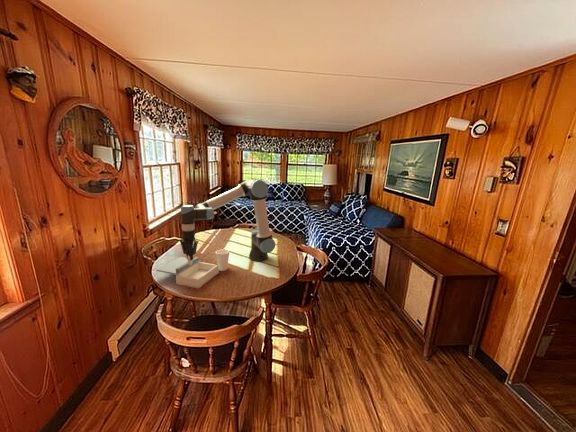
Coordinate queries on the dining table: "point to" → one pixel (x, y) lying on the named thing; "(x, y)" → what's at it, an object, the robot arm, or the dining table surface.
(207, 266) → the box
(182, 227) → the robot arm
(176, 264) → the lid
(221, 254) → the foam cup
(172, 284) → the dining table surface
